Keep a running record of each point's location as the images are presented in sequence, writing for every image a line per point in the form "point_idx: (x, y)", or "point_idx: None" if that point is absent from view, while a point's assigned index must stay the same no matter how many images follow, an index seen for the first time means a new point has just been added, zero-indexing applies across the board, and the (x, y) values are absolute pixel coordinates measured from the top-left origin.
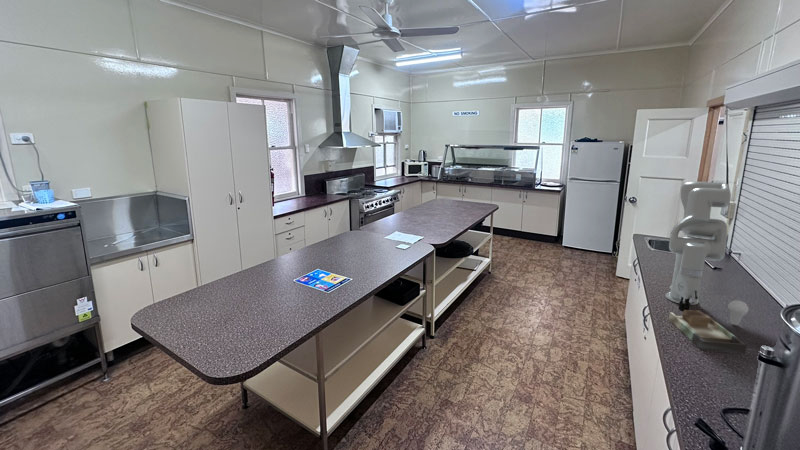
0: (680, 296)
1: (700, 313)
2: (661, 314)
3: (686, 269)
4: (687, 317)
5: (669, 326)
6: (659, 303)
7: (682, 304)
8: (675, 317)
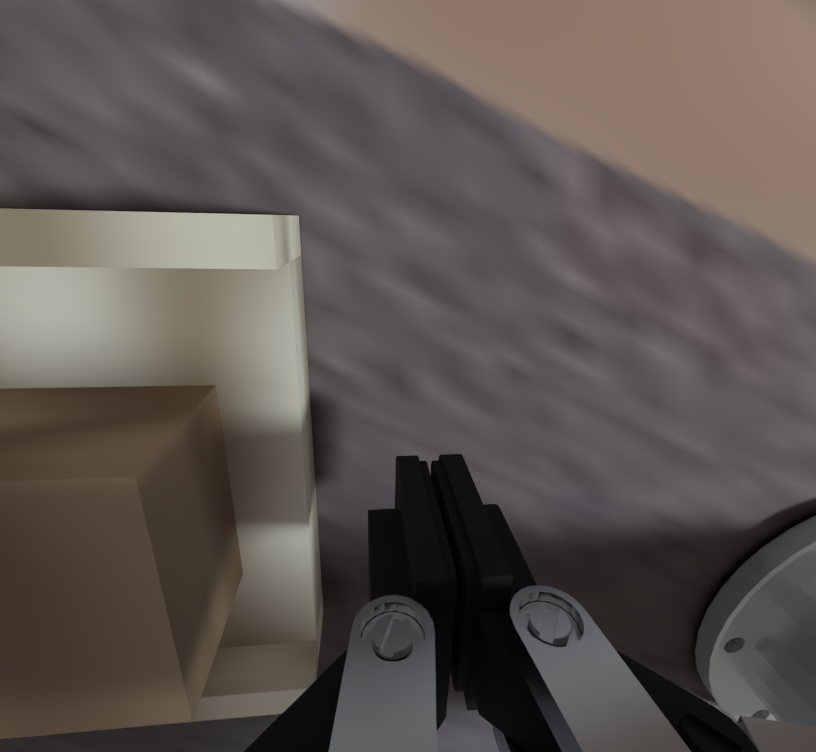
0: (617, 716)
1: (48, 693)
2: (465, 192)
3: None
4: (14, 428)
5: (11, 87)
6: (797, 347)
7: (408, 559)
8: (18, 209)
